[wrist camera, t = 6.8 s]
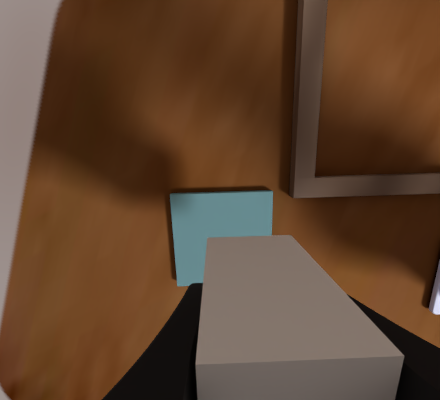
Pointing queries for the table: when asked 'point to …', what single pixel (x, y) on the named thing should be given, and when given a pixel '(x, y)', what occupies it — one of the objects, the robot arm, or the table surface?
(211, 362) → the cream block
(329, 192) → the brown square frame
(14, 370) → the table surface
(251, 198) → the mat
